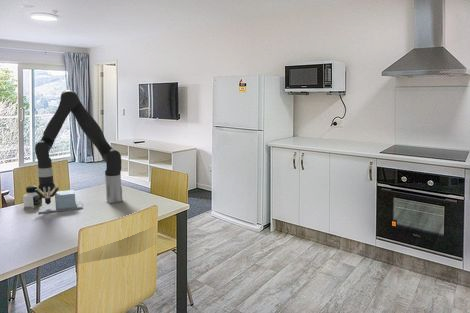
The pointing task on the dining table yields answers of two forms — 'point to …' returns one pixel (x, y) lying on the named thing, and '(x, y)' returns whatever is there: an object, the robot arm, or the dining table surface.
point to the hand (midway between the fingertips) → (48, 203)
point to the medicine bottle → (31, 197)
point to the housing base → (53, 209)
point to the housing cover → (65, 199)
